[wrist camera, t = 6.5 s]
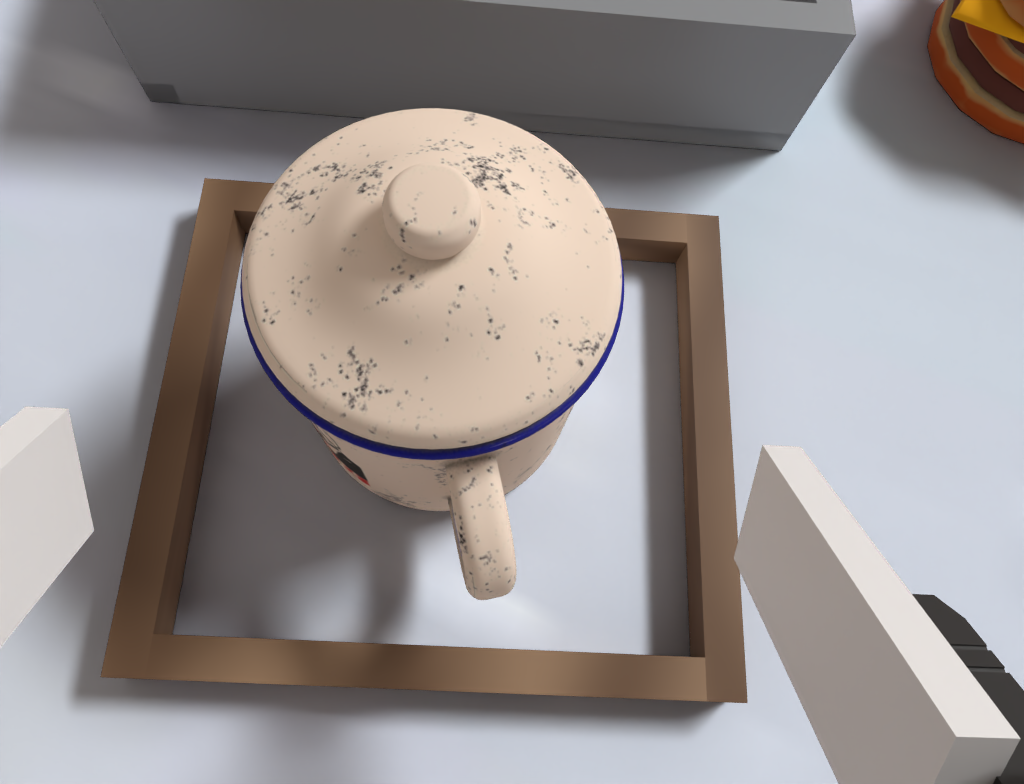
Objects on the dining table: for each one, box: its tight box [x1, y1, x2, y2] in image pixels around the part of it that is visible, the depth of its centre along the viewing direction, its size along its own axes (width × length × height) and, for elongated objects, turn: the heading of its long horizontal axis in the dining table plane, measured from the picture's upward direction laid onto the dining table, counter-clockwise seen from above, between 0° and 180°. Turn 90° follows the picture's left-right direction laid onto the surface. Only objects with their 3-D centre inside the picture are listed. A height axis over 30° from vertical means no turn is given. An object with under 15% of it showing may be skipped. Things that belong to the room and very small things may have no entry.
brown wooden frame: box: [101, 178, 747, 703], centre depth 24 cm, size 18×16×2 cm
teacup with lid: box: [240, 108, 624, 600], centre depth 20 cm, size 12×9×12 cm
